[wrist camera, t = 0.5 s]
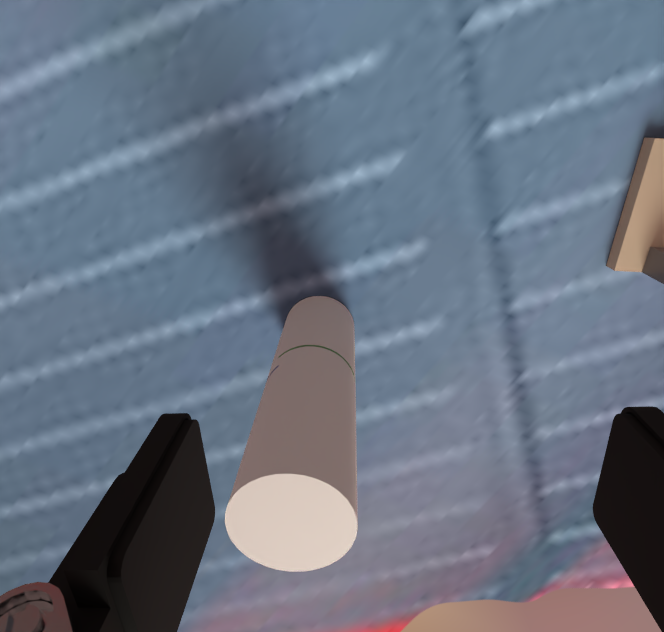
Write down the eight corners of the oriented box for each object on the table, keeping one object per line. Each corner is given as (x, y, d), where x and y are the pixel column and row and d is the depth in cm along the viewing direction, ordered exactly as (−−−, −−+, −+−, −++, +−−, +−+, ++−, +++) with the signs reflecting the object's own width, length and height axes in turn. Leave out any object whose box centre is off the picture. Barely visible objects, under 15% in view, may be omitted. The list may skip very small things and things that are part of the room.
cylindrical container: (272, 335, 48) (201, 534, 25) (310, 282, 46) (269, 451, 23) (328, 370, 50) (309, 588, 27) (368, 320, 47) (384, 515, 24)
